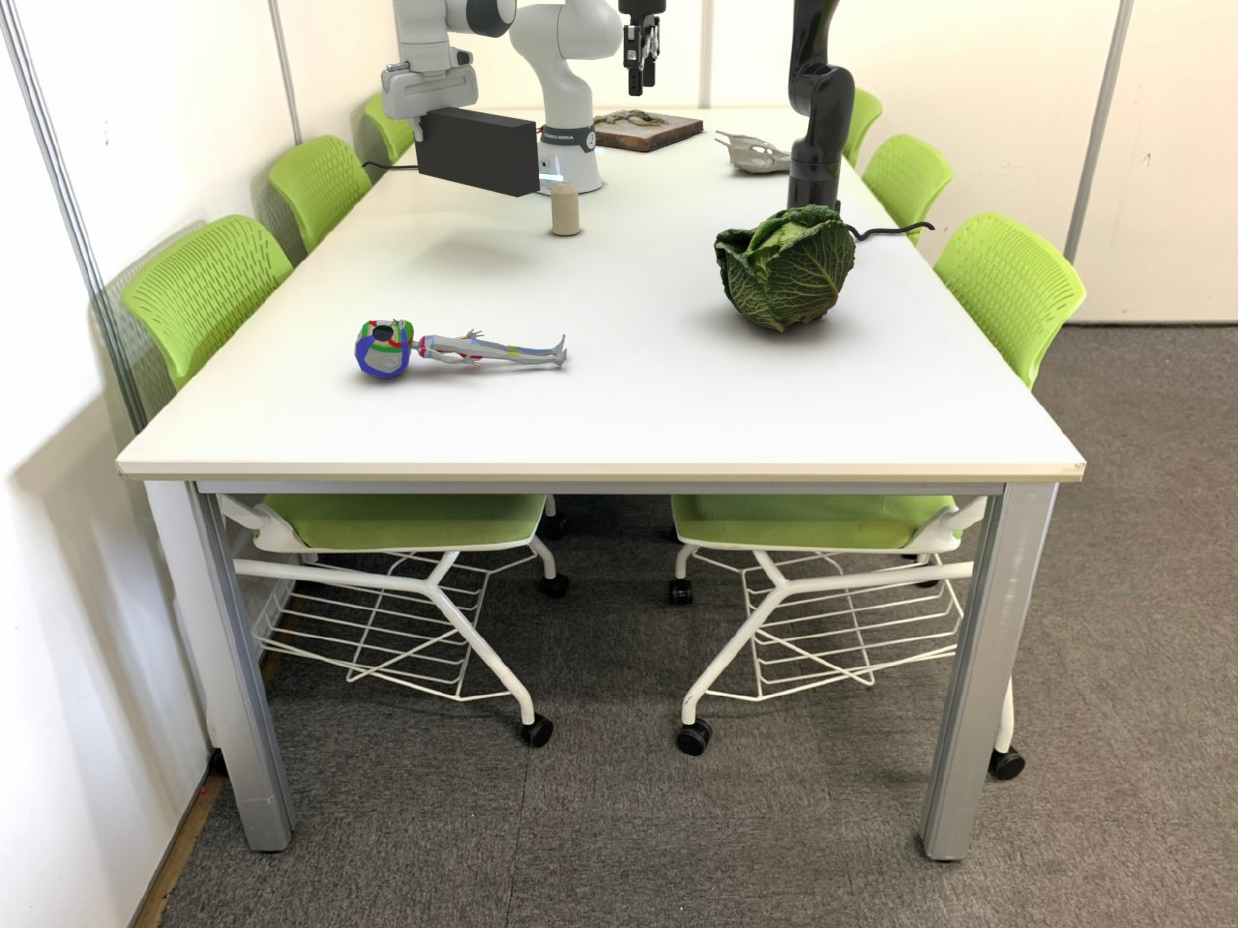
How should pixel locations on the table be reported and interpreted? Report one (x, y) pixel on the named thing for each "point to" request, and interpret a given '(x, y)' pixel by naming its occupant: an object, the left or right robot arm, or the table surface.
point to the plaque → (643, 129)
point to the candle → (565, 208)
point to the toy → (435, 349)
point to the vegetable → (786, 265)
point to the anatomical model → (754, 154)
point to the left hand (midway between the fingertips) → (436, 137)
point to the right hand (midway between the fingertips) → (642, 91)
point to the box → (480, 150)
